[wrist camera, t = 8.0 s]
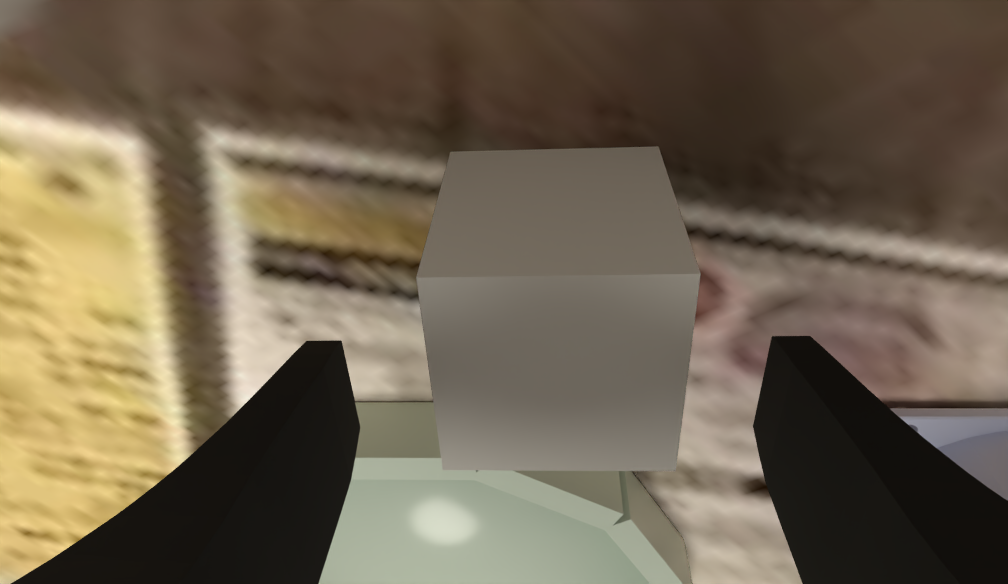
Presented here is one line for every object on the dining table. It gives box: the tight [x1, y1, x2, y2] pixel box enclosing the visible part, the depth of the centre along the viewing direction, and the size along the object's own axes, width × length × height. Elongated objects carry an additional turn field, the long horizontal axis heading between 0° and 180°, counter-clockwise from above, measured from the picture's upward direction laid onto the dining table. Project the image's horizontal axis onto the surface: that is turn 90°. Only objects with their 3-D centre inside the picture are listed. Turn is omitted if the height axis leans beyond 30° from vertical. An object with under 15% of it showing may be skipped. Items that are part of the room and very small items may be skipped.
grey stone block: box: [416, 146, 701, 471], centre depth 14 cm, size 4×4×5 cm
